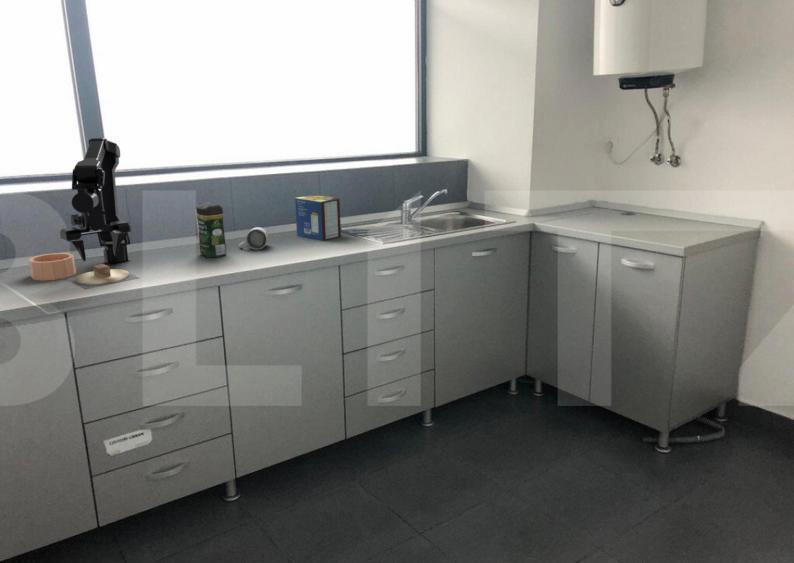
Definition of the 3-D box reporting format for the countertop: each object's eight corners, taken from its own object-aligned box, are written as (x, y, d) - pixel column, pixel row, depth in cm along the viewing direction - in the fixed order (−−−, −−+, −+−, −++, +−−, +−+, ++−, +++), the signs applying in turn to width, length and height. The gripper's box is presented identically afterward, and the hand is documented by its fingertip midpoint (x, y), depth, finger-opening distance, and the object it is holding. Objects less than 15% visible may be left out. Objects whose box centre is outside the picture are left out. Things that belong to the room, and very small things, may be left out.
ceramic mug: (269, 244, 239) (267, 224, 237) (267, 249, 231) (266, 228, 229) (240, 246, 238) (238, 226, 236) (238, 251, 230) (236, 230, 228)
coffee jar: (196, 254, 224) (192, 202, 219) (217, 251, 229) (213, 200, 224) (209, 259, 217) (204, 205, 212) (230, 255, 222) (225, 203, 217)
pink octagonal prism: (67, 269, 205) (64, 251, 203) (81, 276, 197) (78, 257, 195) (27, 276, 197) (23, 257, 195) (39, 284, 189) (36, 264, 187)
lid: (117, 269, 203) (115, 257, 202) (137, 277, 193) (136, 265, 192) (67, 278, 193) (66, 266, 192) (86, 288, 183) (85, 275, 182)
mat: (118, 270, 204) (118, 268, 204) (140, 279, 193) (139, 277, 193) (65, 279, 193) (65, 278, 193) (85, 290, 182) (85, 288, 182)
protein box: (315, 231, 262) (313, 194, 258) (341, 236, 253) (340, 198, 248) (296, 235, 255) (294, 197, 250) (322, 241, 245) (320, 201, 241)
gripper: (113, 200, 199) (119, 248, 203) (49, 208, 186) (57, 259, 190) (128, 204, 191) (134, 254, 196) (63, 212, 178) (71, 265, 183)
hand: (100, 258), depth 191 cm, fingers open, 9 cm apart
